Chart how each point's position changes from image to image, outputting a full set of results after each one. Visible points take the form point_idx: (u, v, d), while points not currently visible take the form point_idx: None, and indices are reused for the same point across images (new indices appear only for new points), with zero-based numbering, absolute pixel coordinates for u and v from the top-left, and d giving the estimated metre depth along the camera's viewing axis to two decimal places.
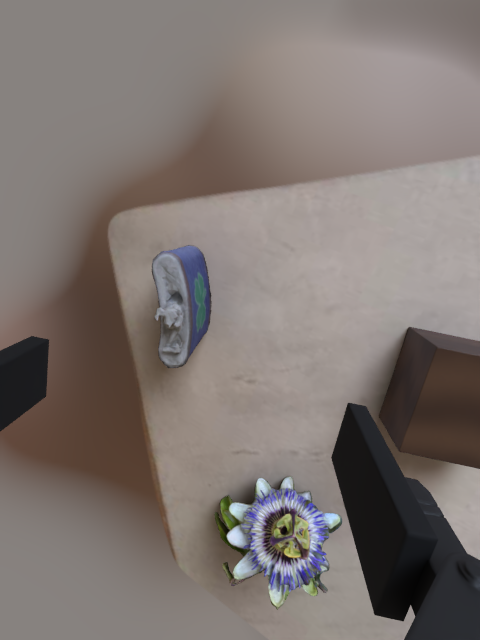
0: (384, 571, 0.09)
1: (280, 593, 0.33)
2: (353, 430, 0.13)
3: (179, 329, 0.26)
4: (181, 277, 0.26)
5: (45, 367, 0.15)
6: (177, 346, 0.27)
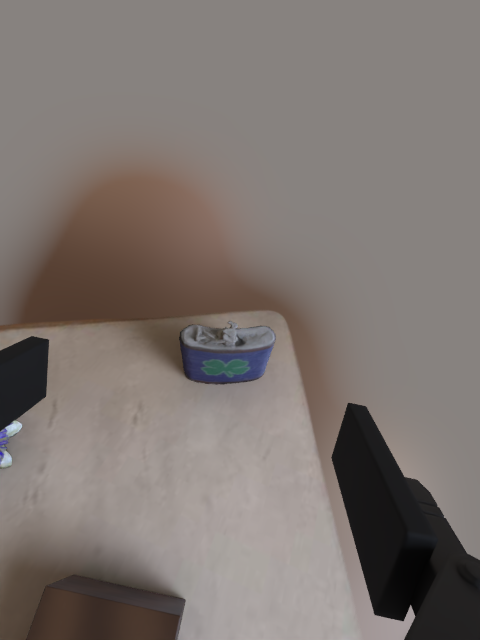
0: (384, 571, 0.09)
1: None
2: (354, 430, 0.13)
3: (217, 340, 0.32)
4: (257, 346, 0.33)
5: (45, 367, 0.15)
6: (202, 338, 0.32)
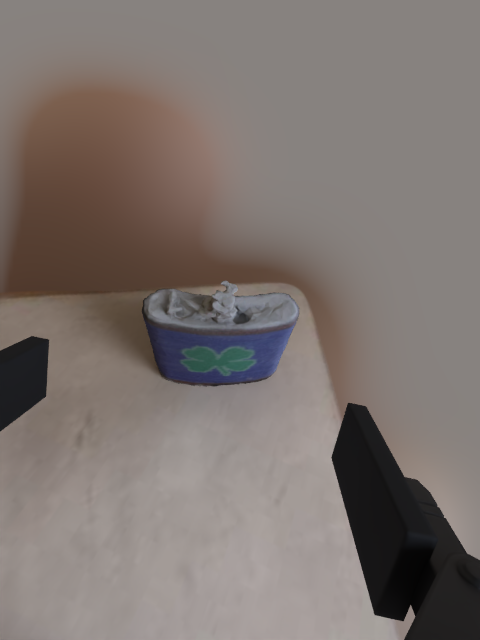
0: (384, 571, 0.09)
1: None
2: (354, 430, 0.13)
3: (203, 312, 0.19)
4: (270, 324, 0.20)
5: (45, 367, 0.15)
6: (177, 309, 0.19)
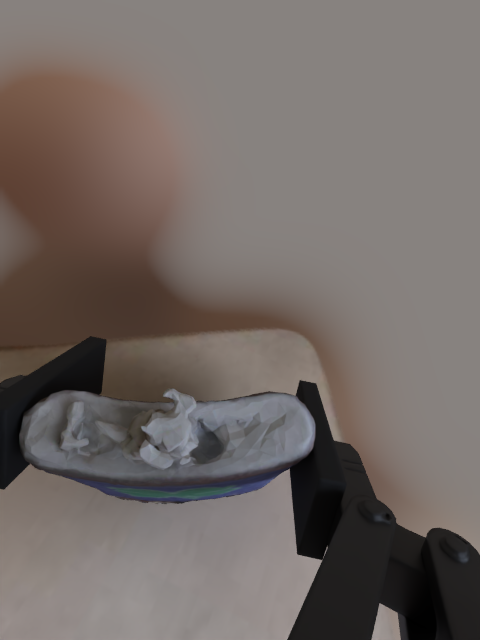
0: (305, 516, 0.10)
1: None
2: None
3: (127, 452, 0.10)
4: (262, 463, 0.10)
5: (102, 365, 0.16)
6: (79, 443, 0.10)
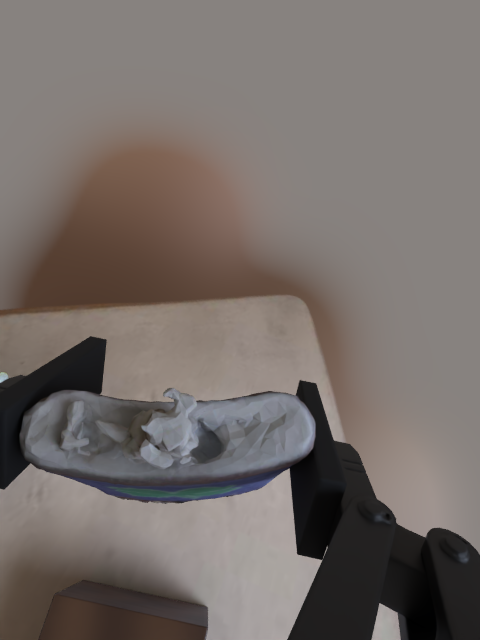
0: (305, 516, 0.10)
1: None
2: None
3: (128, 451, 0.10)
4: (262, 463, 0.10)
5: (102, 365, 0.16)
6: (79, 442, 0.10)
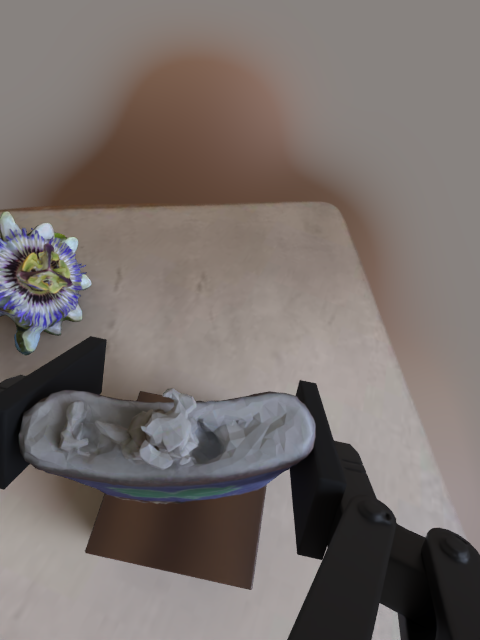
0: (305, 516, 0.10)
1: None
2: None
3: (127, 452, 0.10)
4: (262, 463, 0.10)
5: (102, 365, 0.16)
6: (79, 443, 0.10)
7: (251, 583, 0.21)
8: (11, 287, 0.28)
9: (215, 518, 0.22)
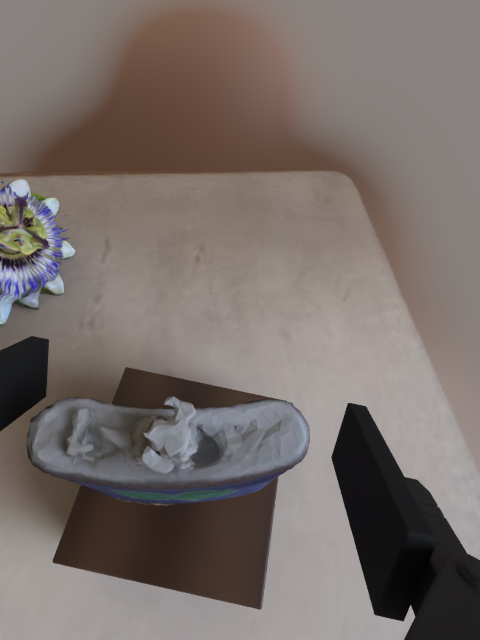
0: (384, 571, 0.09)
1: None
2: (353, 430, 0.13)
3: (130, 457, 0.10)
4: (259, 467, 0.11)
5: (45, 367, 0.15)
6: (84, 448, 0.10)
7: (260, 601, 0.17)
8: None
9: (216, 519, 0.18)
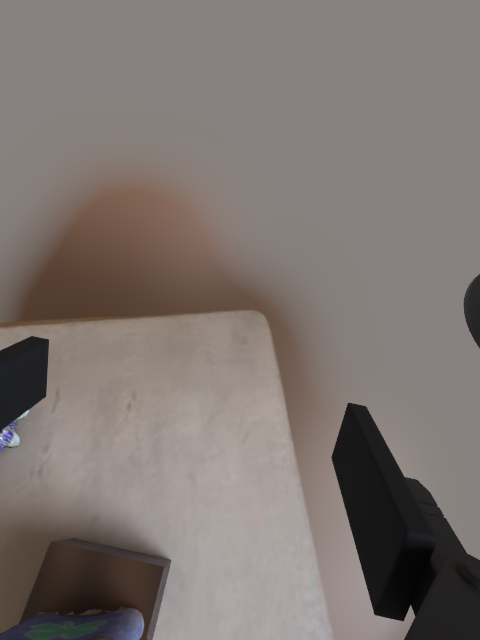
0: (384, 571, 0.09)
1: None
2: (354, 430, 0.13)
3: None
4: None
5: (45, 367, 0.15)
6: None
7: None
8: None
9: None
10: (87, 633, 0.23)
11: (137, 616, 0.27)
